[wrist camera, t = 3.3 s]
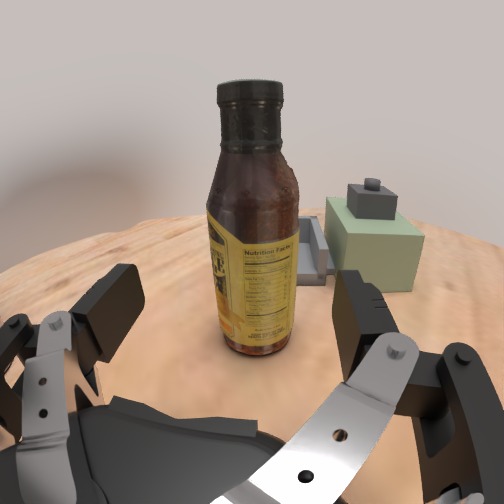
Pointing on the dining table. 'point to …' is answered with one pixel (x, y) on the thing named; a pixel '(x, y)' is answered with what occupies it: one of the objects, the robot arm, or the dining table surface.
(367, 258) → the knobbed green block
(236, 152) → the sauce bottle
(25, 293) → the dining table surface
